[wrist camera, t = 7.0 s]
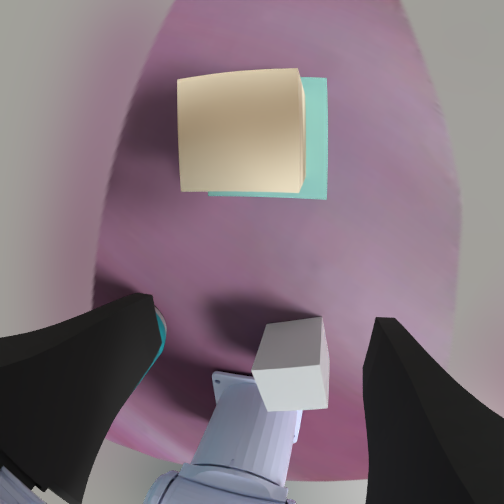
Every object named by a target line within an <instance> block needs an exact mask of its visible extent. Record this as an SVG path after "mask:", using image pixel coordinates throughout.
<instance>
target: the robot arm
mask: <svg viewBox="0 0 504 504" xmlns="http://www.w3.org/2000/svg"><path fill="white" fill-rule="evenodd" d="M161 345H162V339H161V335H160V330H159V326H158V321H157V316H156V311H155V306H154V301H153V296H152V295H149V294H142V293H135V294H132V295H129V296H126V297H123V298H121V299H118V300H115V301H113V302H111V303H108V304H106V305H103V306H101V307H99V308H96V309H94V310H91V311H89V312H87V313H84V314H82V315H79V316H77V317H74V318H71V319H69V320H66V321H63V322H61V323H58V324H55V325H52V326H49V327H46V328H43V329H40V330H36V331H32V332H28V333H24V334H18V335H13V336H8V337H2V338H0V504H47V503H46V502H44V501H43V500H42V499H41V498H39V497H38V496H37V495H36V494H35V493H33V492H32V491H31V490H32V489H33V487H34V486H37V487H38V488H39V489H40V490H41V491H43V492H45V491H46V490H47V489H50V490H51V491H52V492H54V493H55V494H56V495H58V496H59V497H61V498H62V499H63V500H65V501H66V502H68V503H69V504H82V499H83V495H84V492H85V488H86V484H87V481H88V477H89V475H90V472H91V469H92V466H93V464H94V461H95V458H96V456H97V454H98V451H99V449H100V447H101V445H102V442H103V440H104V438H105V436H106V434H107V432H108V430H109V428H110V426H111V424H112V422H113V420H114V419H115V417H116V415H117V414H118V412H119V411H120V409H121V408H122V406H123V405H124V403H125V402H126V400H127V399H128V398H129V396H130V395H131V393H132V392H133V391H134V389H135V388H136V386H137V385H138V384H139V382H140V381H141V379H142V378H143V376H144V375H145V374H146V372H147V371H148V369H149V368H150V366H151V365H152V363H153V361H154V359H155V357H156V355H157V353H158V351H159V349H160V347H161ZM212 381H213V387H214V394H215V400H216V407H215V410H214V412H213V414H212V417H211V419H210V421H209V423H208V426H207V428H206V430H205V433H204V435H203V437H202V439H201V442H200V444H199V446H198V448H197V450H196V453H195V455H194V457H193V459H192V462H191V464H188V463H184V464H183V466H182V468H181V470H180V472H177V471H174V470H172V471H169V472H167V473H165V474H163V475H161V476H159V477H158V478H157V479H156V481H155V482H154V483H153V485H152V486H151V488H150V489H149V491H148V493H147V495H146V497H145V499H144V502H143V504H296V502H295V501H294V500H291V499H286V498H287V493H288V488H287V487H284V485H285V481H286V476H287V471H288V466H289V461H290V455H291V450H292V444H293V443H296V442H297V438H298V433H299V428H300V423H301V417H302V412H303V410H296V411H271V412H267V409H266V407H265V404H264V402H263V399H262V397H261V394H260V392H259V389H258V386H257V384H256V381H255V379H254V377H251V376H244V375H238V374H231V373H225V372H220V371H215V372H213V374H212ZM363 401H364V410H365V419H366V429H367V439H368V451H369V473H368V486H367V496H366V504H504V418H502V417H501V416H499V415H498V414H496V413H495V412H493V411H492V410H491V409H489V408H488V407H486V406H485V405H484V404H482V403H481V402H480V401H479V400H477V399H476V398H475V397H474V396H473V395H471V394H470V393H469V392H468V391H466V390H465V389H464V388H463V387H462V386H460V384H458V383H457V382H456V381H455V380H454V379H453V378H452V377H451V376H450V375H449V374H448V373H447V372H446V371H445V370H444V369H443V368H442V367H441V366H440V365H439V364H438V363H437V362H436V361H435V360H434V359H433V358H432V357H431V356H430V355H429V354H428V353H427V352H426V351H425V350H424V348H423V347H422V346H421V345H420V344H419V343H418V342H417V341H416V340H415V339H414V338H413V336H412V335H411V334H410V333H409V332H408V331H407V330H406V329H405V328H404V327H403V326H402V325H401V324H400V323H399V322H398V321H397V320H396V319H395V318H384V317H376V319H375V323H374V327H373V331H372V335H371V339H370V343H369V347H368V351H367V354H366V358H365V362H364V365H363Z"/></svg>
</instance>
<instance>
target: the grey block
mask: <svg viewBox="0 0 504 504" xmlns="http://www.w3.org/2000/svg"><path fill="white" fill-rule="evenodd" d="M329 360H330V359H329V353H328V347H327V341H326V336H325V330H324V325H323V319H322V317H315V318H308V319H301V320H294V321H286V322H278V323H270V324H266V328H265V331H264V334H263V337H262V340H261V343H260V346H259V349H258V352H257V355H256V358H255V361H254V364H253V367H252V370H251V371H252V374H253V376H254V379H255V381H256V384H257V386H258V389H259V392H260V394H261V397H262V399H263V402H264V404H265V407H266V409H267V412H271V411H296V410H311V409H323V408H328V393H329Z"/></svg>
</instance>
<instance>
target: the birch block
mask: <svg viewBox="0 0 504 504" xmlns="http://www.w3.org/2000/svg"><path fill="white" fill-rule="evenodd" d="M177 110H178V145H179V167H180V184H181V192H200V191H239V192H284V193H299V192H300V189H301V187H302V185H303V182H304V180H305V178H306V105H305V93H304V89H303V85H302V82H301V79H300V75H299V72H298V68H293V69H262V70H247V71H236V72H226V73H217V74H210V75H202V76H196V77H190V78H184V79H178V80H177Z"/></svg>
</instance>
